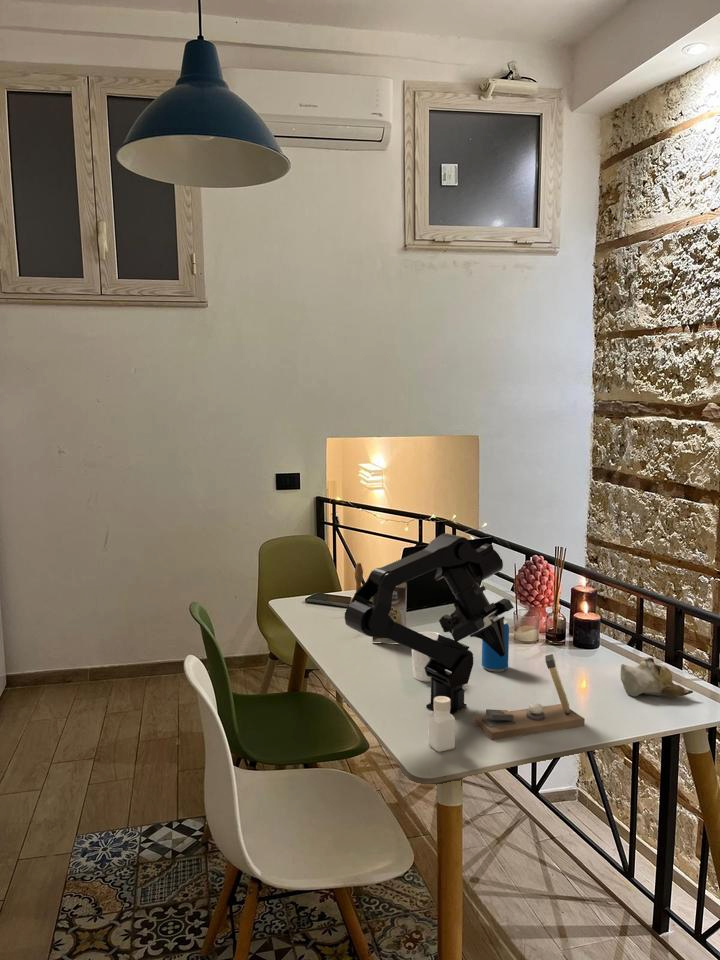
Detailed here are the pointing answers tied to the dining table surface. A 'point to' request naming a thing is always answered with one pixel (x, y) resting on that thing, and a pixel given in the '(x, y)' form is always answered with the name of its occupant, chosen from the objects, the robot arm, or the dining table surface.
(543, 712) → the switch panel
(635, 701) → the dining table surface
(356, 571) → the hand bell
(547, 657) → the tan capped bar
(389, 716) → the dining table surface
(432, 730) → the white pill bottle
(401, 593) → the coffee box
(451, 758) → the dining table surface
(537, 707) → the push button
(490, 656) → the beverage can
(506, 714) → the rocker switch
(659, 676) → the ceramic sculpture
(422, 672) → the white cup
